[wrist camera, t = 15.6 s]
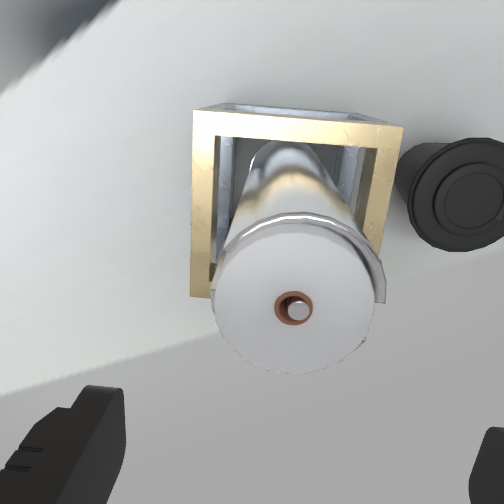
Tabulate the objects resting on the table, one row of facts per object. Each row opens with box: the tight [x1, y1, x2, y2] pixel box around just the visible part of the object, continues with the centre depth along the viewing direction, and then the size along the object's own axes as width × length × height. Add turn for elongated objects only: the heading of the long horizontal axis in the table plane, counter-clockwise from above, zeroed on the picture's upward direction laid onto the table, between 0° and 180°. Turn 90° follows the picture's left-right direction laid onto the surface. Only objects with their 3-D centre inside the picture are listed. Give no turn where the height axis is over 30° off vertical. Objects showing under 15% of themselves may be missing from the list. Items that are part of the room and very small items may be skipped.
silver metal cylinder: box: [210, 140, 386, 374], centre depth 26 cm, size 6×6×25 cm
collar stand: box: [190, 103, 404, 299], centre depth 31 cm, size 11×11×14 cm
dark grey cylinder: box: [394, 138, 504, 252], centre depth 32 cm, size 8×8×10 cm
